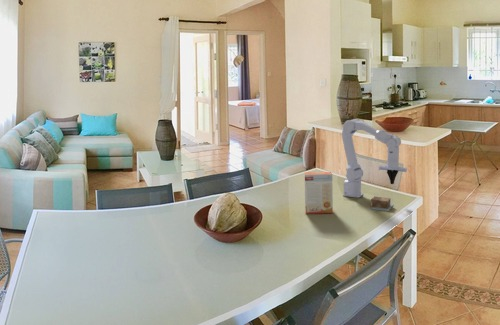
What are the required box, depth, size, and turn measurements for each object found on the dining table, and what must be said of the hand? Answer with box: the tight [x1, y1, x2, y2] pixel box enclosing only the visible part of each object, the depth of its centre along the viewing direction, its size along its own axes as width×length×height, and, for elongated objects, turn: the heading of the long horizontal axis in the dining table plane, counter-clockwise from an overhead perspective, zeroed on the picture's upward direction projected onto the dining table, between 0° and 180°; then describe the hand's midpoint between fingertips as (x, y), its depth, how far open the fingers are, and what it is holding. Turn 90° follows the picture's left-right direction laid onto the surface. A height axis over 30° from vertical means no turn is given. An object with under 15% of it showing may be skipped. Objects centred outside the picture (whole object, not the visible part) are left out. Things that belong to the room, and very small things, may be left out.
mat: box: [370, 203, 395, 212], centre depth 230 cm, size 9×12×1 cm
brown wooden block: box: [370, 196, 391, 209], centre depth 230 cm, size 4×6×8 cm
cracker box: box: [304, 171, 334, 214], centre depth 224 cm, size 14×6×21 cm, turn 84°
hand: (392, 183), depth 234 cm, fingers closed
